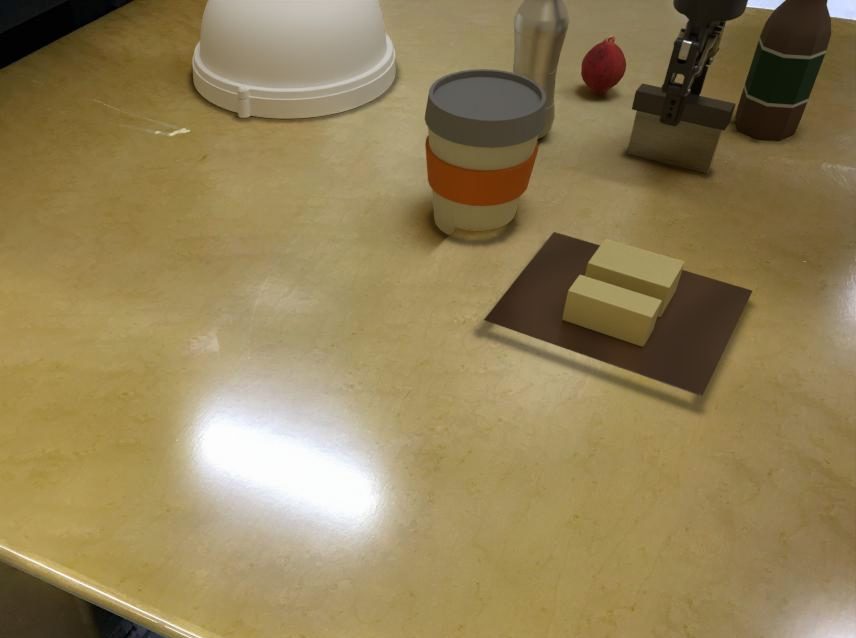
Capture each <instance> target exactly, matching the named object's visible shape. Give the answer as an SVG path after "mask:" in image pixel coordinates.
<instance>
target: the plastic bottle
mask: <svg viewBox="0 0 856 638" xmlns="http://www.w3.org/2000/svg"><path fill="white" fill-rule="evenodd" d="M513 21H514V22H513V26H514V28H513V33H514V35H513V37H514V38H513V39H514V42H513V43H514V50H513V51H514V52H513V65H512V73H516V74H519V75H522V76H525V77H527V78H530V79H532V80H533V81H535V82H536V83H538V84H539V85H540V86H541V87H542V88H543V89H544V91H545V93H546V116H545V126H544V128H543V130H542V131H541V132H540V134H539V136H538V139H542V138H544V137H545V136H546V135H547V134H548V133H549V132H550V131H551V129H552V127H553V124H554V121H555V113H556V112H555V111H556V109H555V108H556V106H555V104H556V103H555V92H556V91H555V90H556V79H557V77H556V76H557V70H558V66H559V63H560V57H561V53H562V49H563V46H564V42H565V40H566V36H567V34H568V33H567V32H568V30H569V24H570V13H569V11H568V8H567V5H566V2H565V1H564V0H523V1H522V2H521V4H520V5H519V7H518V8H517V10H516V12H515V15H514V19H513ZM538 139H537V140H538Z"/></svg>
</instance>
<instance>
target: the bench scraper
mask: <svg viewBox="0 0 856 638" xmlns="http://www.w3.org/2000/svg"><path fill="white" fill-rule="evenodd" d="M665 97H666V93H663V92H662V86H657V85H652V84H647V83H644V82H643V83H641V84H640V85H639V87H637V89H636V90H635V92H634V96H633V100H632V101H633V102H632V106H631V110H632V111H636V112H635V115H634V116H635V117H634V120H633V125H632V129H631V132H630V133H631V134H630V137H629V142H628V146H627V151H626V155H630V156H635V157H637V158H638V157H639V158H643V159H646V160H650V161H654V162H657V163H658V162H659V163H661V164H667V165H669V166H670V165H671V166H674V167H678V168H682V169H687V170H689V171H694V172H699V173H702V174H709V172H710V170H711V168H712V164H713V161H714V158H715V154H716V152H717V148H718V145H719V141H720V138H721V135H722V132H724V131H726V129H727V128H728V126H729V125H730V123H731V121H732V118H733V115H734V111H735V108H736V105H737V103H735V102H730V101H727V100H726V101H725V100H722V99H716V98H712V97H707V96H702V95H699V96H698V95H694V94H688V96H687V100H686V103H685V107H684V110H683V114H682V117H681V121H680V123H679V124H678V125H677V126H671V125H667V124H663V123H661V122H660V116H661V112H662V108H663V104H664V101H665Z"/></svg>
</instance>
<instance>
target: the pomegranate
mask: <svg viewBox="0 0 856 638" xmlns="http://www.w3.org/2000/svg"><path fill="white" fill-rule="evenodd" d="M615 41H616V37H615V35H613V34H610V35H607V36H606V37H604V39H603V41H601V42H599V43H597V44H595V45H594V46H593V47H592V48H590V49H589V50H588V51H587V52H586V54H585V55H584V57H583V59H582V63H581V71H580V75H581V79H582V81H583V83H584V84H585V85H586V86H587V88H588V89H590V90H591V91H592V92H593V93H595V94H597V95H601V94H603V93H605V92H607V91H608V90H610V89H612V88H614V87H616V86H617V85H618V84H619V83H620V81H622V79H623V78H624V75H625V73H626V69H627V60H626V59H627V58H626V57H625V54H624V52H623V50H622V48H621V47H620V46H619V45H617V44H616V43H615Z"/></svg>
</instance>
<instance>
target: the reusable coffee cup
mask: <svg viewBox="0 0 856 638" xmlns="http://www.w3.org/2000/svg"><path fill="white" fill-rule="evenodd" d="M545 116H546V93H545V91H544V89H543V88H542V87H541V86H540V85H539V84H538V83H536V82H535V81H533V80H532V79H530V78H527V77H525V76H522V75H519V74H516V73H513V71H506V70H501V69H492V68H489V69H487V68H478V69H477V68H476V69H467V70H459V71H456V72H451V73H449V74H445V75H442V77H439V78H438V79H436V80H435V81H434V82H433V83H432V84H431V86H430V88H429V89H428V95H427V101H426V107H425V112H424V122H425V125H426V126H427V132H428V133H427V134H428V135H427V137H426V139H425V155H426V156H425V157H426V158H425V159H426V172H427V182H428V186H429V187H430V188H431V189H432V190H431V191H432V204H433V205H432V206H433V219H434V223H435V226H436V227H437V228H438V229H439V230H440V231H442V232H443V233H444V234H446V235H448V236H450V235H451V234H452V233H453V232H454V231H455V230H456V229H460V230H465V231H466V230H467V231H473V232H475V231H476V232H482V231H491V230H497V229H499V228H502V227H505V226H506V225H508V224H509V223H510V222H511V221H513V219H514V218H515V216H516V213H517V211H518V206H519V203H520V201H521V196H522V195H524V193H525V192H526V191H527V189H528V186H529V182H530V179H531V176H532V173H533V169H534V166H535V164H536V163H535V162H536V159H537V156H538V152H539V143H538V136H539V134H540V132H541V131H542V130H543V128H544V126H545Z"/></svg>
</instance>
